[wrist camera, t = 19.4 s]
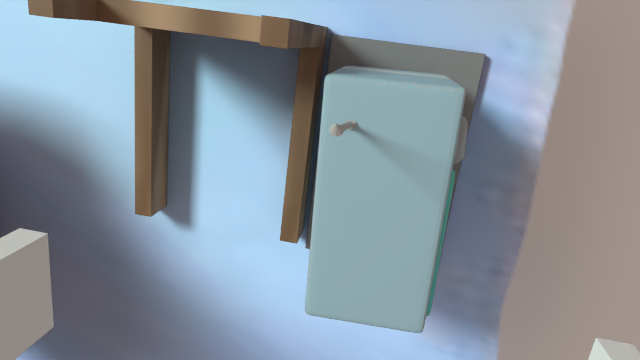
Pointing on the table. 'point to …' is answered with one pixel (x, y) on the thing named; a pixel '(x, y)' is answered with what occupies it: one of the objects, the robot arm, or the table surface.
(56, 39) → the table surface
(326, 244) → the radio
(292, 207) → the shelf cradle
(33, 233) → the robot arm
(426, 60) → the rubber mat
